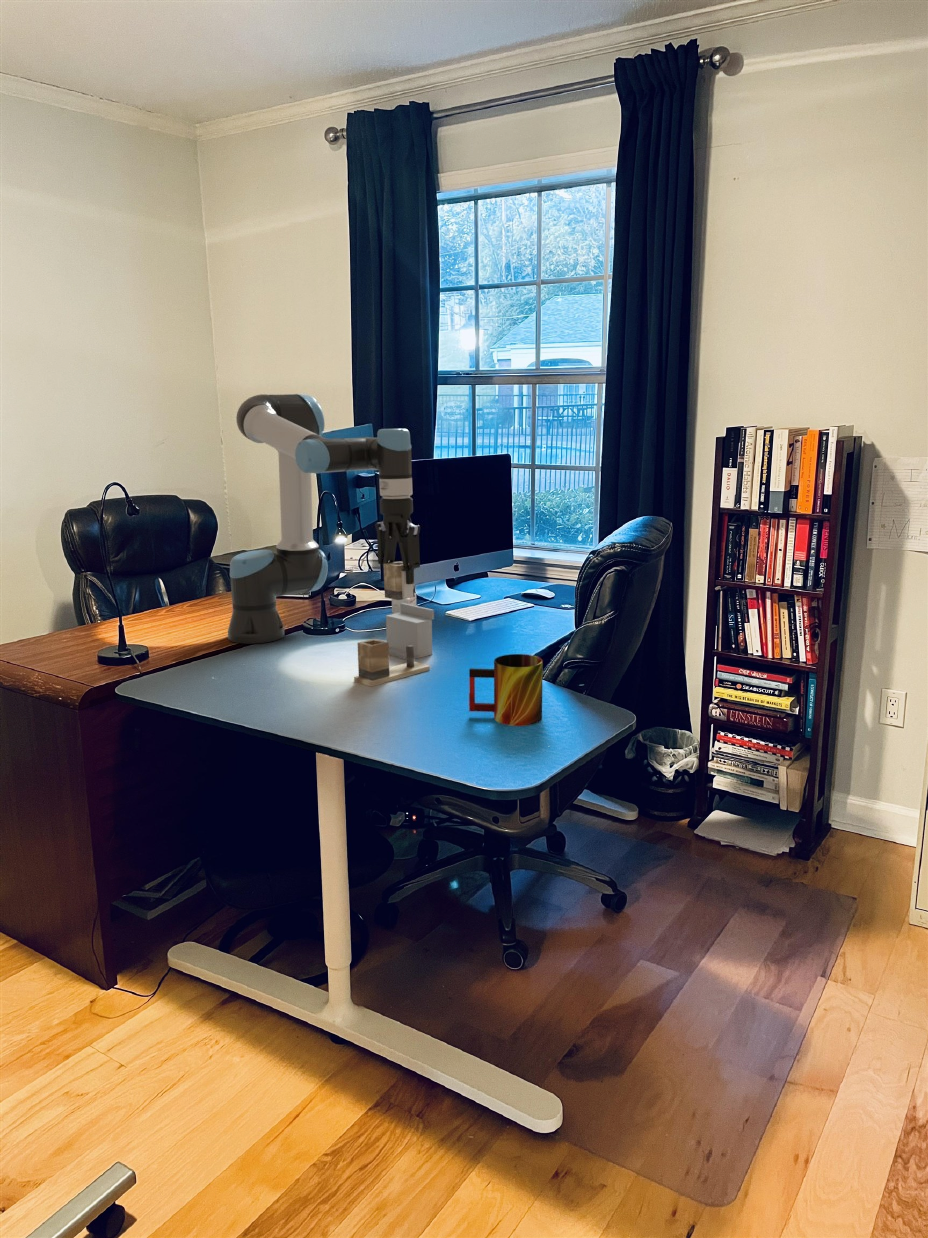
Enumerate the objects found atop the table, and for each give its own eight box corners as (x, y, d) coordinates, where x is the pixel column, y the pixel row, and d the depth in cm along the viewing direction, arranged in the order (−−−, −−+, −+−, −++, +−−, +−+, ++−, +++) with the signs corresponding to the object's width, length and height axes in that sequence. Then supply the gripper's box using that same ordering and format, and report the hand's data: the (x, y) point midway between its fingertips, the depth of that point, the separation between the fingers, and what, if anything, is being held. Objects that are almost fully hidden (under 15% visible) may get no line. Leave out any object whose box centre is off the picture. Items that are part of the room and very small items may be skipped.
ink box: (410, 641, 240) (408, 598, 237) (392, 641, 241) (390, 598, 238) (418, 634, 248) (417, 592, 245) (400, 633, 249) (399, 591, 246)
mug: (467, 715, 182) (467, 658, 179) (531, 707, 186) (531, 652, 184) (483, 731, 173) (483, 671, 170) (549, 723, 177) (550, 664, 175)
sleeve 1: (358, 676, 206) (357, 642, 204) (375, 671, 209) (374, 638, 207) (372, 680, 202) (371, 646, 200) (389, 676, 206) (388, 642, 204)
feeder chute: (377, 651, 230) (376, 608, 228) (403, 645, 236) (402, 602, 234) (408, 660, 222) (407, 615, 219) (434, 653, 228) (433, 609, 225)
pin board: (354, 681, 206) (353, 655, 204) (413, 665, 218) (412, 641, 217) (370, 686, 201) (369, 660, 200) (429, 670, 214) (429, 645, 212)
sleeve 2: (384, 597, 212) (383, 563, 210) (401, 594, 215) (399, 561, 213) (398, 600, 208) (397, 566, 206) (414, 596, 211) (413, 563, 210)
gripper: (359, 496, 210) (363, 593, 215) (409, 499, 198) (413, 603, 203) (383, 494, 215) (387, 589, 220) (434, 497, 203) (437, 598, 208)
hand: (399, 595), depth 211 cm, fingers closed on sleeve 2, 5 cm apart
